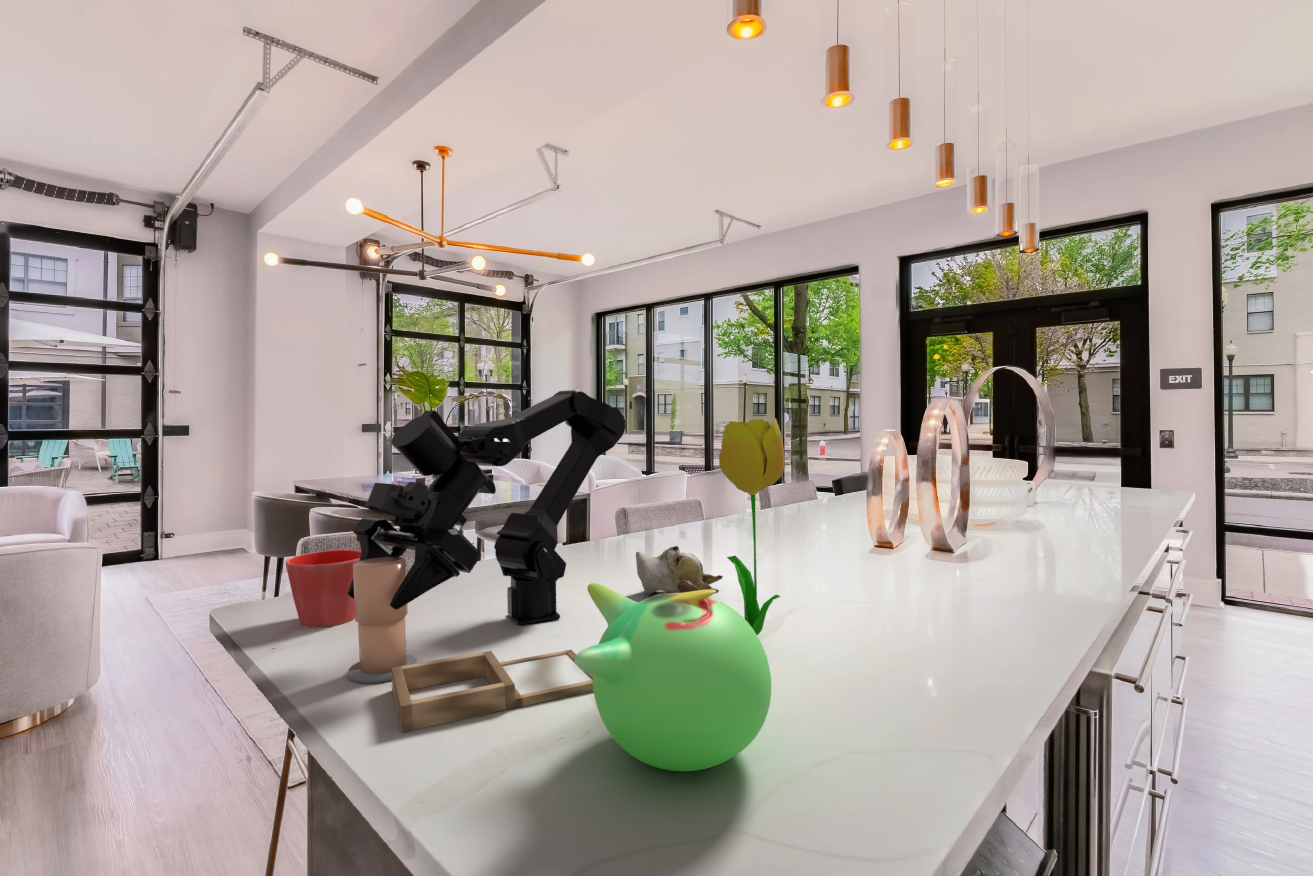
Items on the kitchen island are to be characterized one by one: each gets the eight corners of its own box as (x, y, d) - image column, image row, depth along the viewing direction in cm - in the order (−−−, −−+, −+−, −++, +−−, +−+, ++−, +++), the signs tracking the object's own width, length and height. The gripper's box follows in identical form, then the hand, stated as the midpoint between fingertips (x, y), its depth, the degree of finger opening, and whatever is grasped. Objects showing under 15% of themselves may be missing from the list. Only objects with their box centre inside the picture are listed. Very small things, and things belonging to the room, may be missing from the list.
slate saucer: (413, 655, 81) (413, 650, 81) (420, 675, 75) (420, 670, 75) (347, 665, 78) (347, 661, 78) (348, 688, 71) (348, 683, 71)
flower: (792, 636, 87) (791, 417, 86) (778, 656, 80) (776, 417, 79) (732, 628, 91) (730, 418, 90) (713, 646, 83) (711, 418, 83)
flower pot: (336, 633, 90) (334, 565, 90) (270, 629, 93) (268, 562, 92) (382, 611, 101) (381, 550, 101) (322, 608, 103) (320, 548, 103)
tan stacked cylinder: (416, 655, 79) (413, 556, 79) (397, 674, 73) (393, 567, 73) (370, 656, 79) (366, 557, 79) (347, 675, 73) (343, 568, 73)
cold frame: (571, 656, 80) (570, 637, 80) (604, 688, 70) (603, 666, 70) (392, 689, 71) (391, 667, 71) (401, 732, 61) (401, 706, 61)
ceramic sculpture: (642, 537, 115) (724, 543, 113) (640, 584, 116) (722, 591, 113) (629, 549, 105) (720, 557, 102) (627, 600, 105) (717, 609, 103)
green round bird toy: (797, 806, 49) (796, 616, 48) (575, 819, 47) (573, 624, 47) (745, 703, 66) (744, 564, 66) (584, 710, 65) (582, 568, 65)
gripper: (365, 456, 84) (279, 554, 75) (456, 460, 74) (370, 573, 65) (418, 508, 91) (345, 604, 82) (508, 518, 80) (436, 629, 72)
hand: (371, 602), depth 75 cm, fingers open, 8 cm apart
